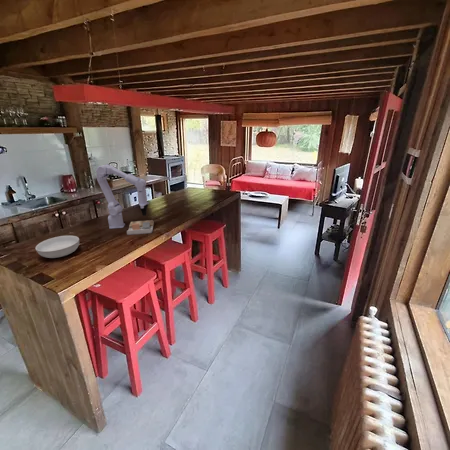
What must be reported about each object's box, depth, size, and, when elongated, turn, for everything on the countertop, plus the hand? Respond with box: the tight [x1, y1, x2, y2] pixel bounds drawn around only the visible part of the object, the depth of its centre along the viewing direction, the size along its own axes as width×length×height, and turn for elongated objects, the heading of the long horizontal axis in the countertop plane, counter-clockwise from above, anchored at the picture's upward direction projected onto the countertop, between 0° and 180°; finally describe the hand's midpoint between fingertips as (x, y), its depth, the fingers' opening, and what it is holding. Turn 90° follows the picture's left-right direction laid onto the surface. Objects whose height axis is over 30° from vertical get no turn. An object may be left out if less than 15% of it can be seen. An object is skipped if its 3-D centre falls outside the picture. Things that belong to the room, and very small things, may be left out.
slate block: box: [143, 222, 150, 229], centre depth 177 cm, size 4×4×2 cm
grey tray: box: [126, 225, 154, 236], centre depth 174 cm, size 16×9×3 cm, turn 101°
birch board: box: [128, 219, 155, 229], centre depth 183 cm, size 16×10×2 cm, turn 101°
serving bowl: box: [34, 235, 80, 259], centre depth 143 cm, size 21×21×7 cm
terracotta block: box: [132, 223, 140, 230], centre depth 175 cm, size 4×4×2 cm
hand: (144, 215), depth 180 cm, fingers closed
